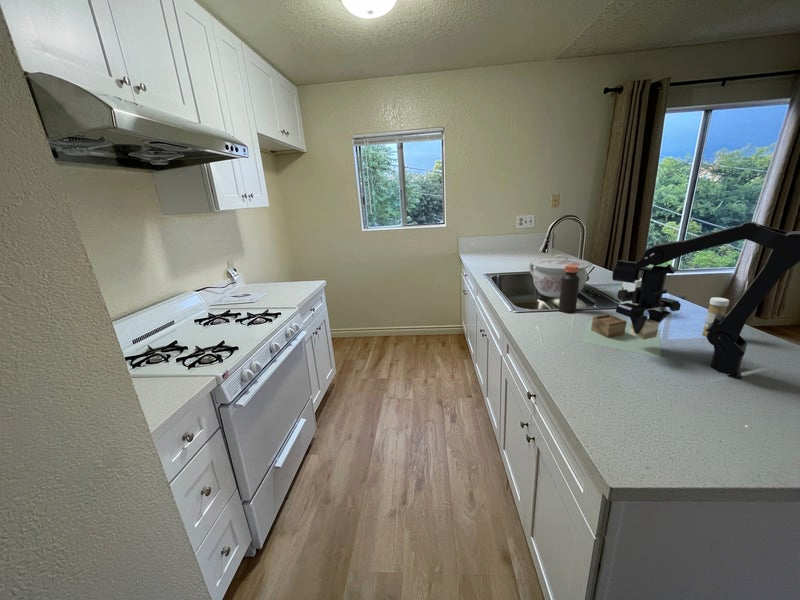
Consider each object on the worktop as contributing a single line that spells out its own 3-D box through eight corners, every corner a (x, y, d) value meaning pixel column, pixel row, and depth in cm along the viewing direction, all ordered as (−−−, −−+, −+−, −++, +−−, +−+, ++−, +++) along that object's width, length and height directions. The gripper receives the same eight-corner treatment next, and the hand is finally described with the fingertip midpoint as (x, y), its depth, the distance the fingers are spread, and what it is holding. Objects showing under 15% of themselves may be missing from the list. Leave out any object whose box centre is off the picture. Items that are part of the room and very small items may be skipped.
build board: (659, 359, 97) (660, 357, 97) (578, 343, 110) (579, 341, 110) (659, 332, 115) (659, 330, 115) (589, 321, 128) (589, 319, 128)
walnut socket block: (624, 334, 113) (626, 321, 111) (607, 337, 111) (609, 323, 110) (607, 327, 119) (609, 314, 118) (591, 330, 118) (592, 317, 116)
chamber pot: (597, 303, 147) (603, 259, 141) (534, 303, 152) (538, 260, 146) (576, 286, 174) (580, 249, 167) (523, 287, 179) (526, 250, 172)
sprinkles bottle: (721, 339, 107) (732, 301, 103) (703, 337, 110) (713, 300, 106) (717, 334, 111) (727, 297, 107) (699, 332, 113) (708, 296, 109)
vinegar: (571, 314, 136) (577, 268, 130) (555, 310, 141) (560, 266, 135) (578, 310, 140) (583, 265, 134) (562, 307, 145) (567, 264, 139)
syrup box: (627, 308, 139) (632, 276, 135) (640, 312, 134) (647, 279, 129) (617, 310, 138) (622, 277, 133) (630, 314, 132) (636, 280, 128)
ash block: (656, 337, 100) (659, 322, 99) (643, 339, 99) (646, 324, 98) (641, 331, 105) (644, 317, 104) (629, 333, 104) (631, 319, 102)
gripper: (651, 276, 107) (642, 319, 111) (604, 282, 103) (598, 327, 107) (686, 284, 96) (675, 331, 101) (636, 291, 92) (628, 340, 97)
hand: (643, 332), depth 102 cm, fingers closed on ash block, 5 cm apart
